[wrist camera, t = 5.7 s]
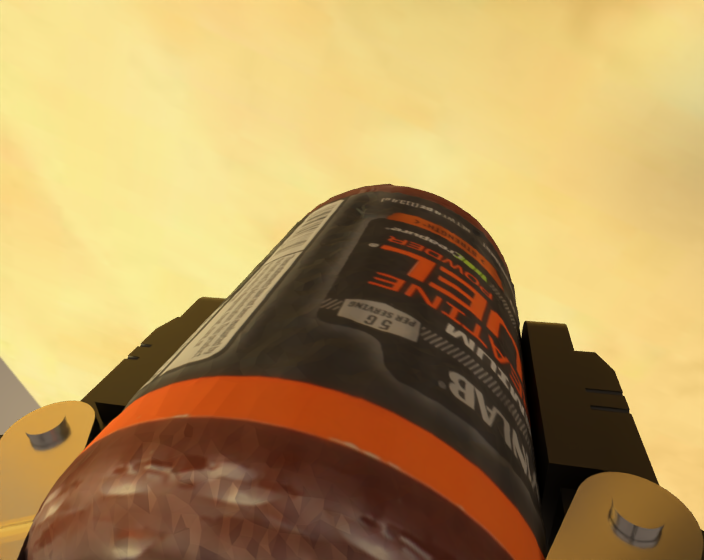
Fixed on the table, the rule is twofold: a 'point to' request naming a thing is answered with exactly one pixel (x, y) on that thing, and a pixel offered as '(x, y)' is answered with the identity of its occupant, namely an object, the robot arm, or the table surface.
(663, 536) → the robot arm
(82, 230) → the table surface
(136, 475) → the supplement bottle
